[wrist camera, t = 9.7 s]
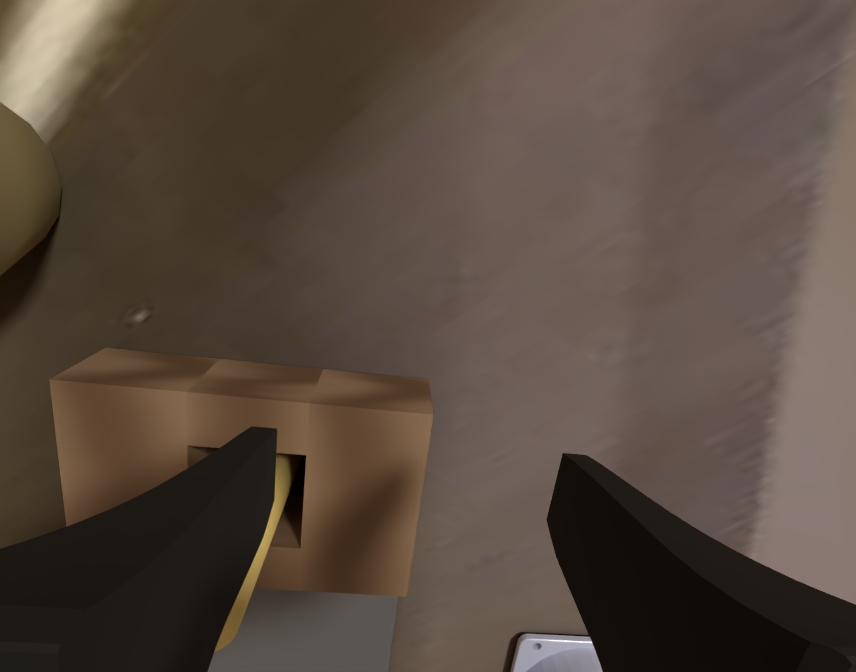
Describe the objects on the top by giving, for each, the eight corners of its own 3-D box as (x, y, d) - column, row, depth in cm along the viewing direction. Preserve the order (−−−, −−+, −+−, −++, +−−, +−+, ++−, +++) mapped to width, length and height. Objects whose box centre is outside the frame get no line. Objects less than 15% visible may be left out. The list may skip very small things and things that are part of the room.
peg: (302, 428, 22) (239, 578, 14) (300, 483, 23) (241, 657, 15) (236, 423, 22) (130, 573, 14) (237, 480, 23) (138, 654, 14)
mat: (402, 564, 25) (402, 568, 25) (382, 701, 28) (382, 707, 28) (204, 551, 24) (202, 556, 24) (206, 695, 27) (203, 701, 27)
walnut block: (428, 379, 22) (433, 414, 19) (405, 540, 25) (406, 596, 21) (105, 347, 21) (49, 379, 17) (118, 521, 23) (72, 578, 20)
